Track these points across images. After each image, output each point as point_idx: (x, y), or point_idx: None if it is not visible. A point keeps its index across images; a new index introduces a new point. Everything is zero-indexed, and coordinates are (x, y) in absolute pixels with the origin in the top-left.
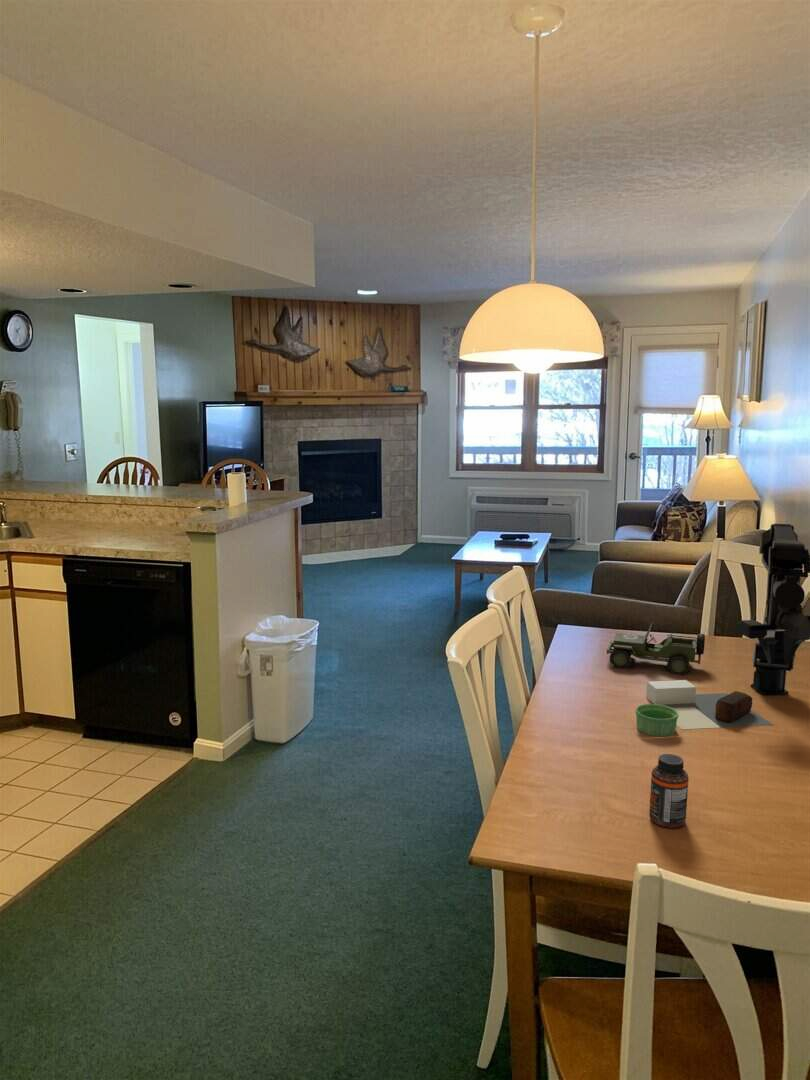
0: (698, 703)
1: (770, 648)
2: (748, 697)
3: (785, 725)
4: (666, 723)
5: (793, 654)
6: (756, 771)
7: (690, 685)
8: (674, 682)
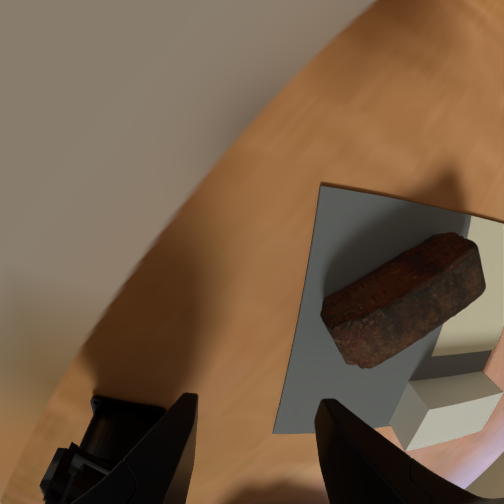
0: (403, 378)
1: (441, 482)
2: (368, 312)
3: (274, 178)
4: None
5: (147, 443)
6: (500, 11)
7: (430, 419)
8: (442, 434)
